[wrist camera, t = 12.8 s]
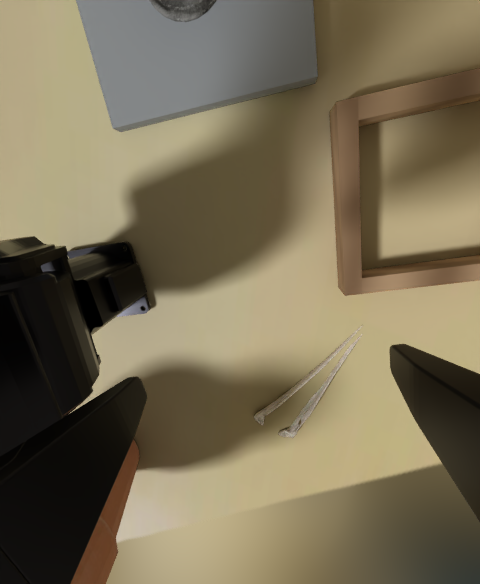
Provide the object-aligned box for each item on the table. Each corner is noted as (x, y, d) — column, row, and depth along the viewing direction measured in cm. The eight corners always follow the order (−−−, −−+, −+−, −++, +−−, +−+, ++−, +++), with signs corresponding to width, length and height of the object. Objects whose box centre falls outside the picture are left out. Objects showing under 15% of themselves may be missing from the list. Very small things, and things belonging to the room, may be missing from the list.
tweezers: (288, 433, 28) (290, 449, 26) (251, 412, 27) (250, 426, 25) (401, 307, 23) (414, 315, 21) (358, 278, 22) (367, 284, 20)
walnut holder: (338, 287, 21) (344, 295, 19) (329, 112, 17) (336, 101, 15) (513, 266, 19) (539, 273, 17) (548, 62, 15) (588, 42, 13)
